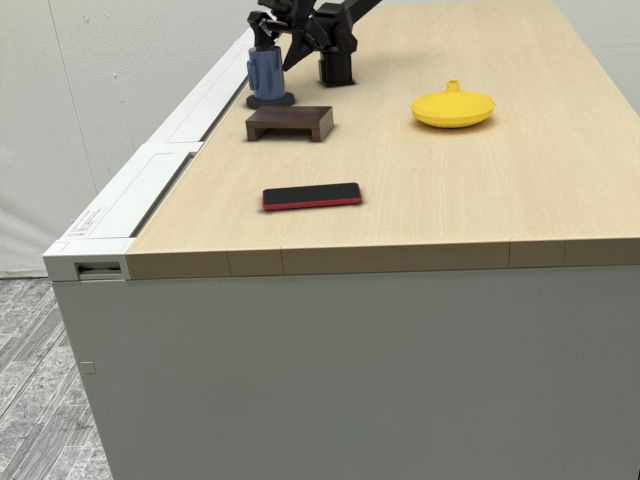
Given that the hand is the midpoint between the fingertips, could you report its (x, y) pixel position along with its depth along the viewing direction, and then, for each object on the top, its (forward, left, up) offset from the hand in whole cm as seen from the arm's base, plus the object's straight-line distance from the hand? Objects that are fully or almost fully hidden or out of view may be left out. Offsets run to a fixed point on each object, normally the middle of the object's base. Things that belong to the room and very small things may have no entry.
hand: (268, 67), depth 168 cm
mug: (0, 0, -5) cm, 5 cm away
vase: (-29, +30, -7) cm, 42 cm away
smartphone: (+5, +59, -7) cm, 60 cm away
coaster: (0, 0, -7) cm, 7 cm away
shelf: (+1, +23, -7) cm, 24 cm away
